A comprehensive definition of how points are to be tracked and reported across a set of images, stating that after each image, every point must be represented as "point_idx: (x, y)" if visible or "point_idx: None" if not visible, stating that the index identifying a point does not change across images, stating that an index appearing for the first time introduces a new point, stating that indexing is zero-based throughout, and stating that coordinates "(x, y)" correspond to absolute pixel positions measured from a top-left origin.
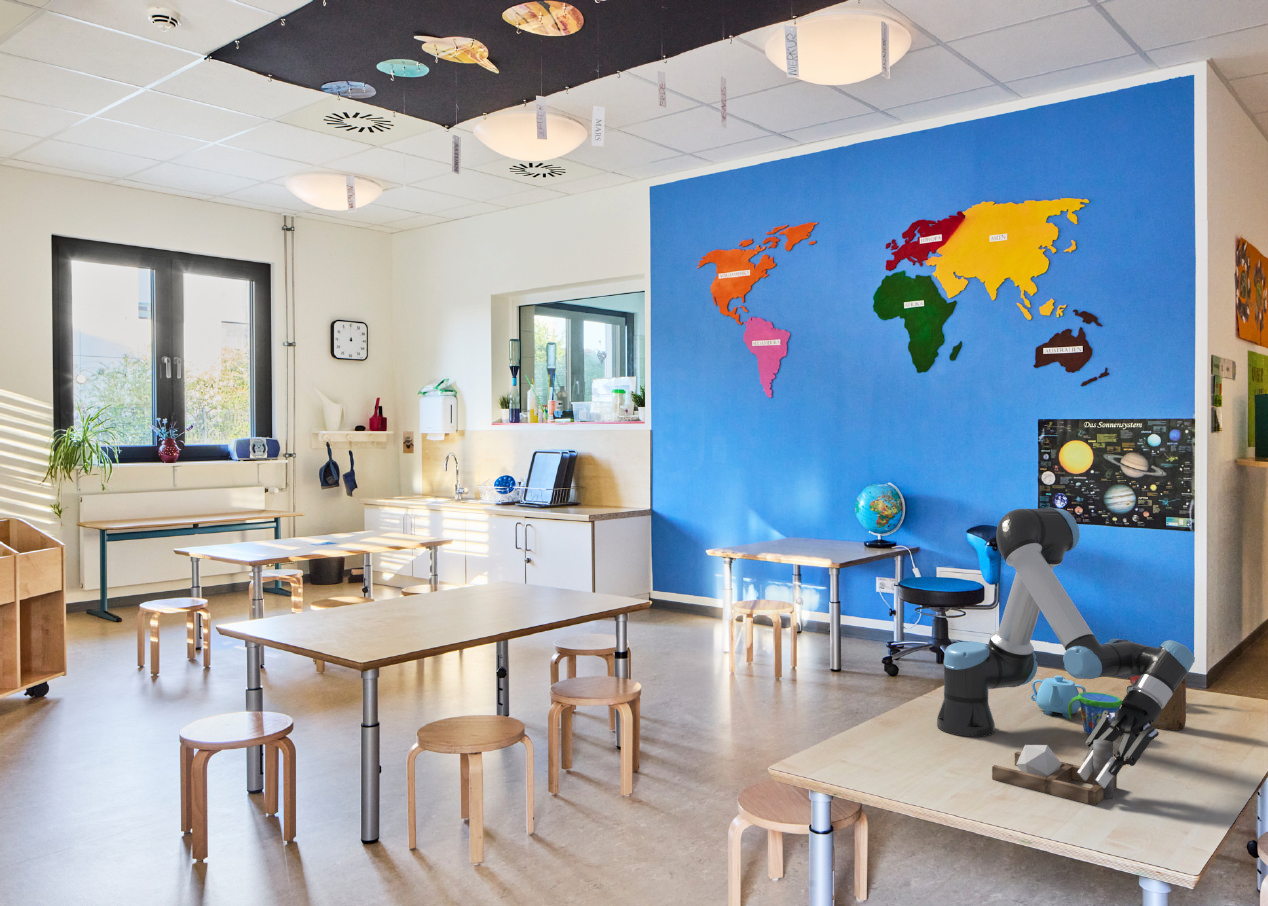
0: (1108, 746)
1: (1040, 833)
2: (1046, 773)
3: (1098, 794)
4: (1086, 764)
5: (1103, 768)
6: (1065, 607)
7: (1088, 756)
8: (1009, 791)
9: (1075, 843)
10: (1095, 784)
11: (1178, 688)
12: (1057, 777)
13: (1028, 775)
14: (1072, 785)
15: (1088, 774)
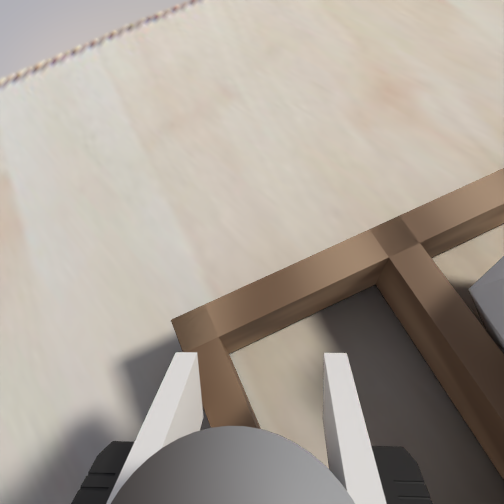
0: None
1: (126, 45)
2: (480, 281)
3: None
4: (333, 410)
5: (170, 417)
6: None
7: (370, 462)
8: (442, 150)
9: (37, 78)
10: (252, 420)
11: None
12: (420, 304)
13: (469, 184)
14: (284, 279)
15: (326, 437)
